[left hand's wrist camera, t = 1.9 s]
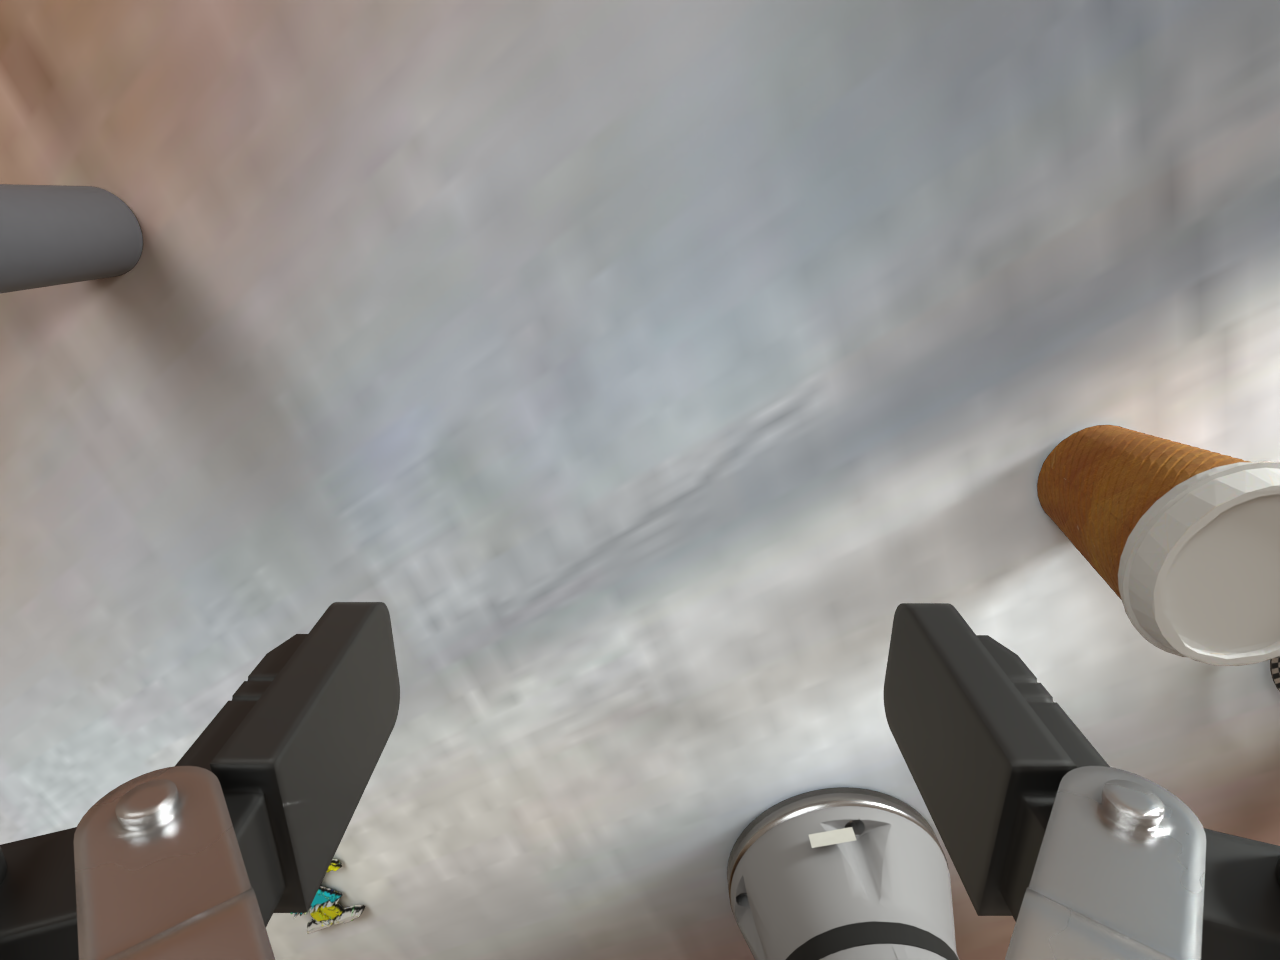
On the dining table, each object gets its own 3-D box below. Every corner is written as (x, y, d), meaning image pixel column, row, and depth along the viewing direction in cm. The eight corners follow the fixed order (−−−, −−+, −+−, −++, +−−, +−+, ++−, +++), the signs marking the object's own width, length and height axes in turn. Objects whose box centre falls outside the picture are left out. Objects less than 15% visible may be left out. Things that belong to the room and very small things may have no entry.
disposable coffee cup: (1008, 411, 40) (1150, 493, 29) (1187, 383, 40) (1401, 455, 29) (1006, 563, 44) (1133, 689, 32) (1170, 539, 43) (1357, 659, 32)
